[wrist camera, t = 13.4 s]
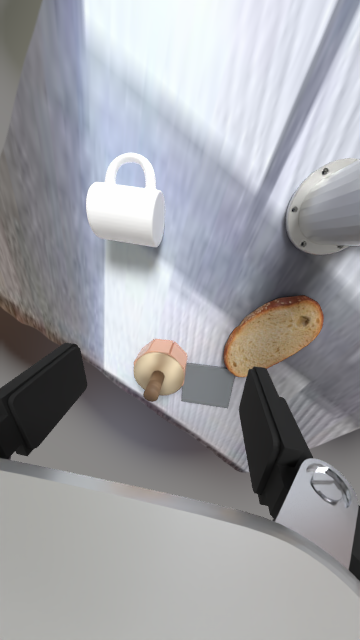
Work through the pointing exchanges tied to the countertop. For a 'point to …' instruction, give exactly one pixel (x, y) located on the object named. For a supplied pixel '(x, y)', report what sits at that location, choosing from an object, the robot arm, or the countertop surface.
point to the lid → (158, 375)
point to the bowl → (166, 351)
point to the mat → (207, 385)
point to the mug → (127, 206)
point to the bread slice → (273, 334)
